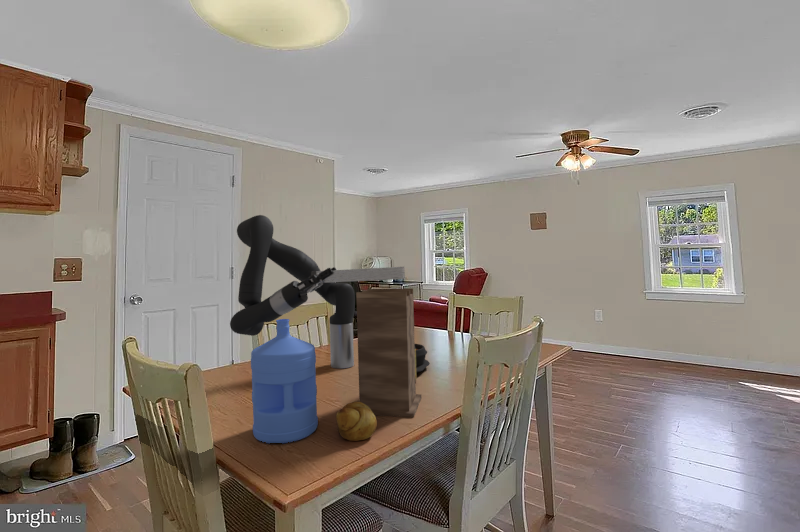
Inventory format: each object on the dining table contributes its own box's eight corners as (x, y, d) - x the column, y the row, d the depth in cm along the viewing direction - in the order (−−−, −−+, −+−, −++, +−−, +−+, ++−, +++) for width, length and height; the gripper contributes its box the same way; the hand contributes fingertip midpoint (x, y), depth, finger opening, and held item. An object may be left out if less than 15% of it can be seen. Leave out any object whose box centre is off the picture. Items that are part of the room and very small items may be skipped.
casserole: (381, 361, 167) (381, 341, 166) (426, 359, 167) (425, 339, 167) (381, 379, 142) (380, 355, 142) (433, 377, 142) (433, 353, 142)
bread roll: (338, 423, 105) (337, 392, 104) (375, 420, 106) (374, 390, 105) (336, 446, 92) (335, 411, 92) (378, 443, 93) (377, 408, 93)
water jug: (251, 425, 104) (247, 318, 104) (311, 414, 111) (308, 313, 110) (255, 451, 90) (251, 327, 90) (324, 437, 96) (320, 321, 96)
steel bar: (316, 282, 124) (315, 271, 124) (405, 278, 119) (404, 266, 119) (311, 283, 120) (310, 271, 120) (402, 278, 115) (402, 266, 115)
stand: (367, 395, 125) (364, 288, 124) (421, 397, 122) (418, 287, 121) (352, 414, 110) (349, 292, 109) (413, 417, 107) (410, 292, 106)
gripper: (271, 289, 117) (319, 259, 114) (292, 285, 131) (335, 259, 128) (283, 311, 117) (331, 282, 114) (304, 305, 131) (347, 279, 128)
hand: (333, 270), depth 121 cm, fingers closed on steel bar, 3 cm apart
